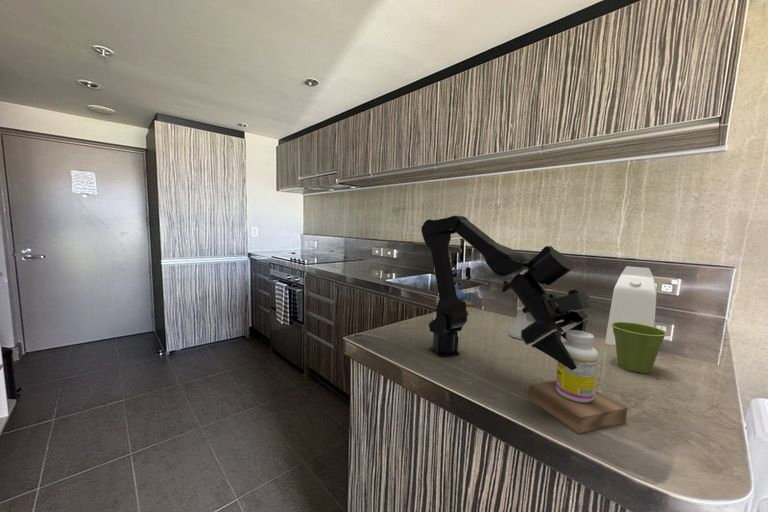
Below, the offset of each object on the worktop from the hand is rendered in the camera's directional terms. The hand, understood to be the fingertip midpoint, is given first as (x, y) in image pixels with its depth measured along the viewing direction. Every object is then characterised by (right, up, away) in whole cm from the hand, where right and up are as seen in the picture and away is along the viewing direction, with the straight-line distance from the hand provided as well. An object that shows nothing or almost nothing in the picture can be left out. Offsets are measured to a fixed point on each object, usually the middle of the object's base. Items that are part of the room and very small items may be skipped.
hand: (584, 363), depth 61 cm
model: (-2, -3, +90) cm, 90 cm away
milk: (+43, -9, +43) cm, 61 cm away
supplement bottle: (-1, -7, +2) cm, 7 cm away
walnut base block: (-1, -10, +2) cm, 10 cm away
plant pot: (+29, -10, +23) cm, 38 cm away
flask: (+8, -7, +46) cm, 47 cm away
